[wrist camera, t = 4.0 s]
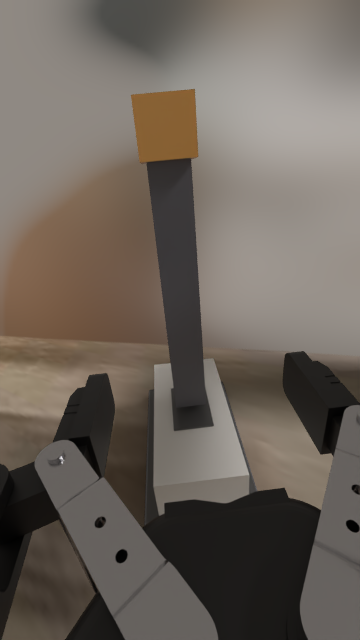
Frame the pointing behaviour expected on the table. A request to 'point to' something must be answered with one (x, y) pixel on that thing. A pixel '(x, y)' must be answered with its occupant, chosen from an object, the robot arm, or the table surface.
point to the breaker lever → (175, 228)
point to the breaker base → (193, 446)
